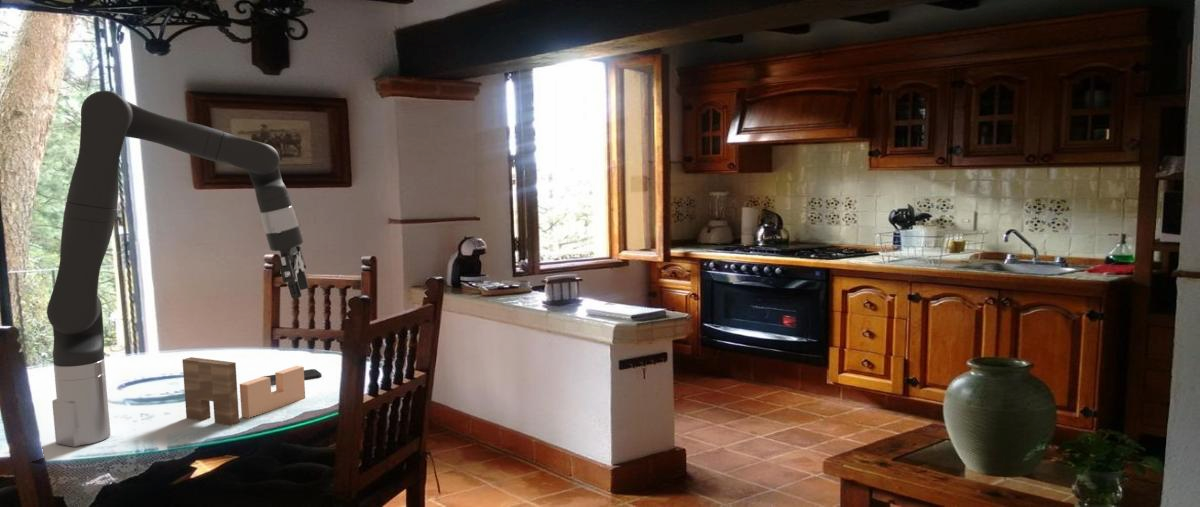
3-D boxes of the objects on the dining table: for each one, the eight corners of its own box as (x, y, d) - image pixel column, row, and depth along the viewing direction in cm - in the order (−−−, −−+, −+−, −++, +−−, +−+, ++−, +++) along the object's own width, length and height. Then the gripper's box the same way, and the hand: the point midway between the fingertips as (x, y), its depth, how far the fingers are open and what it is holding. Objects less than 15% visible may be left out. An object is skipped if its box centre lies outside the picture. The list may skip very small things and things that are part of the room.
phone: (322, 374, 228) (265, 383, 219) (322, 378, 228) (265, 387, 219) (314, 368, 234) (258, 376, 226) (314, 372, 234) (259, 380, 226)
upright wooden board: (230, 425, 187) (226, 365, 185) (186, 418, 193) (182, 359, 191) (239, 422, 189) (235, 362, 188) (195, 415, 195) (191, 357, 193)
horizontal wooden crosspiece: (249, 418, 192) (247, 385, 191) (241, 417, 193) (239, 384, 192) (305, 397, 208) (303, 366, 207) (297, 396, 209) (296, 365, 208)
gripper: (272, 226, 199) (291, 289, 203) (257, 236, 186) (278, 304, 189) (303, 219, 200) (321, 283, 204) (291, 229, 186) (310, 296, 190)
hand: (300, 293), depth 196 cm, fingers open, 8 cm apart
